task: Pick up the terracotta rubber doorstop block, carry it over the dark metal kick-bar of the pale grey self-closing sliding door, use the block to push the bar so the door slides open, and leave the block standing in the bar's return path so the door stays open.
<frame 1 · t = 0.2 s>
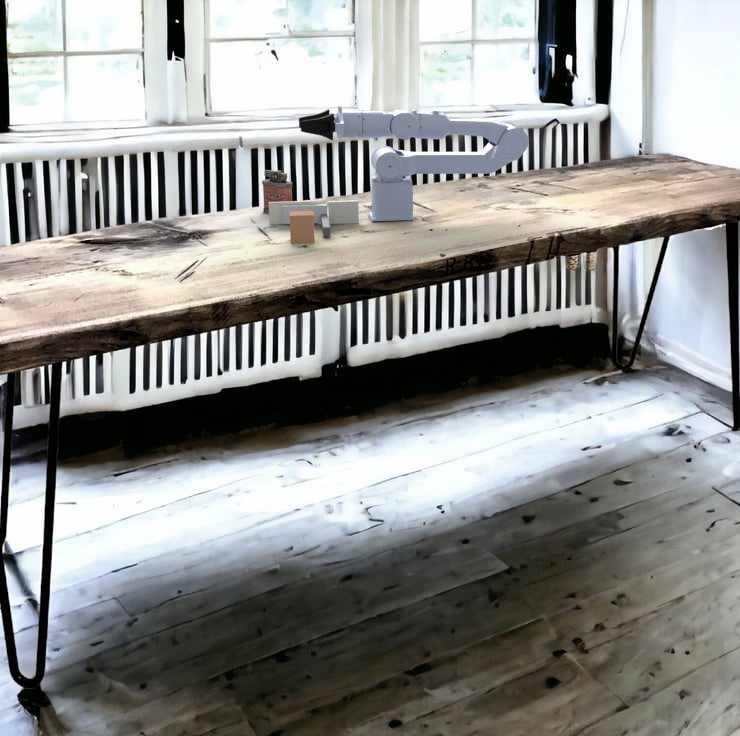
hand: (299, 124, 228), 22 cm above the table, tool horizontal, fingers open, 7 cm apart
white thin slab: (305, 224, 232), on the table
sliding door: (305, 220, 226), point 2 cm above the table, slide at 0.0 cm
lighter: (278, 214, 243), on the table
doorstop block: (302, 241, 219), on the table
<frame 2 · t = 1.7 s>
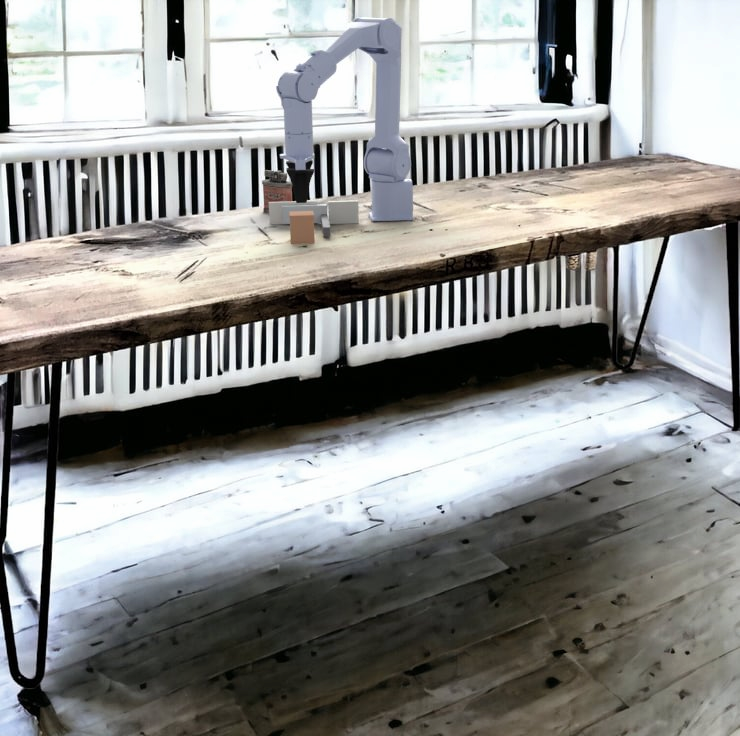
hand: (300, 198, 215), 9 cm above the table, tool pointing down, fingers open, 7 cm apart
nothing on the table moved.
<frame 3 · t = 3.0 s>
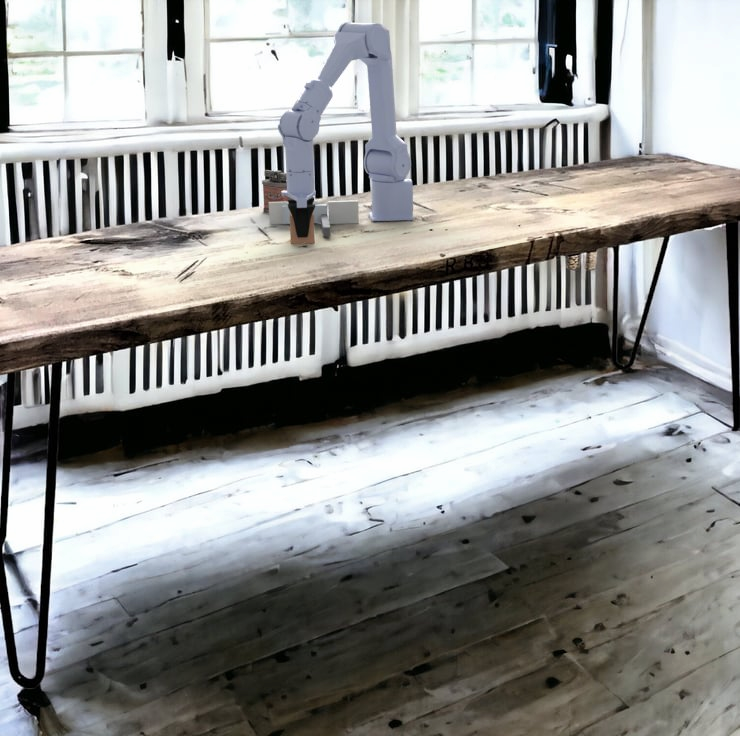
hand: (302, 234, 218), 1 cm above the table, tool pointing down, fingers closed on doorstop block, 4 cm apart
doorstop block: (302, 241, 218), on the table, touching gripper
everything else where it was.
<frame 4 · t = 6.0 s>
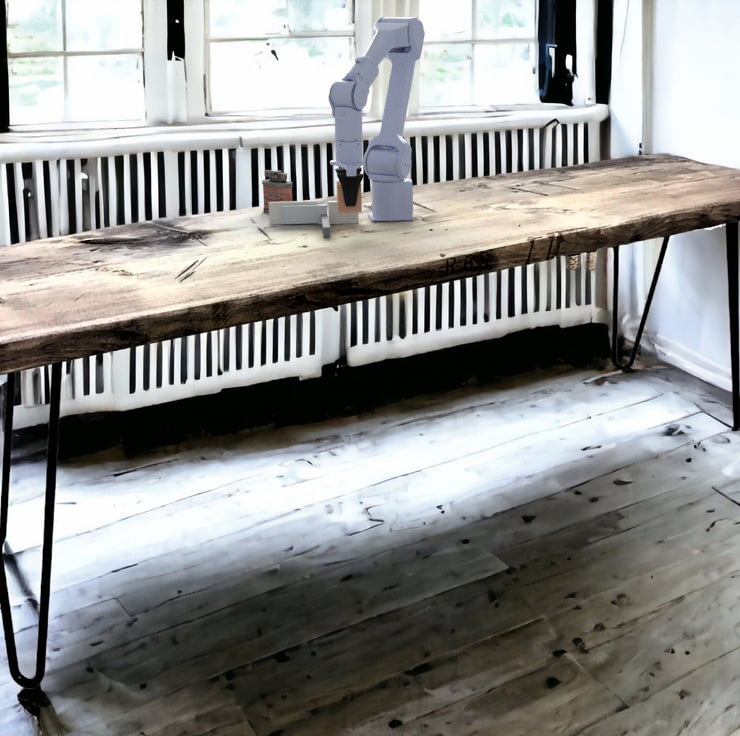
hand: (349, 203, 222), 7 cm above the table, tool pointing down, fingers closed on doorstop block, 4 cm apart
doorstop block: (349, 210, 222), point 5 cm above the table, touching gripper
everything else where it was.
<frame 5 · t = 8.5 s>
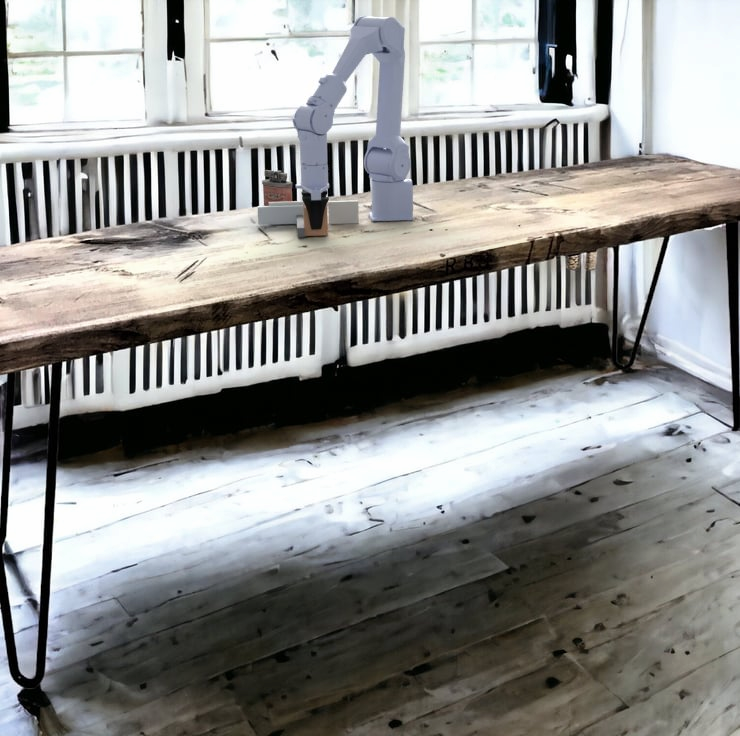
hand: (315, 226, 223), 2 cm above the table, tool pointing down, fingers closed on doorstop block, 4 cm apart
sliding door: (280, 221, 225), point 2 cm above the table, slide at 5.5 cm, touching doorstop block
doorstop block: (315, 233, 223), on the table, touching gripper, sliding door
everything else where it was.
when the fingers open (2 cm above the table, at t = 9.3 s): doorstop block stays where it is, resting on sliding door.
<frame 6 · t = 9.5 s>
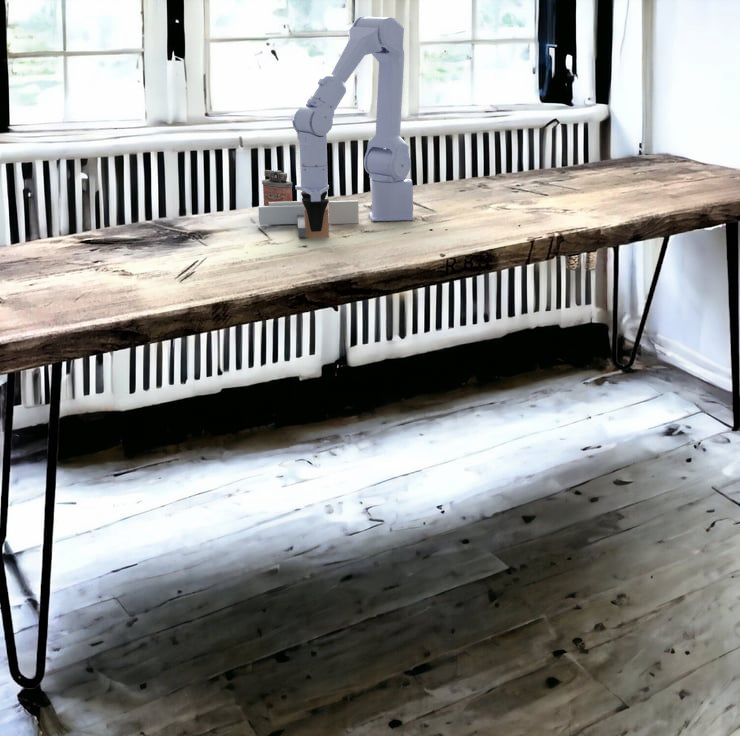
hand: (315, 227, 223), 2 cm above the table, tool pointing down, fingers open, 5 cm apart
doorstop block: (316, 235, 223), resting on sliding door
everything else where it was.
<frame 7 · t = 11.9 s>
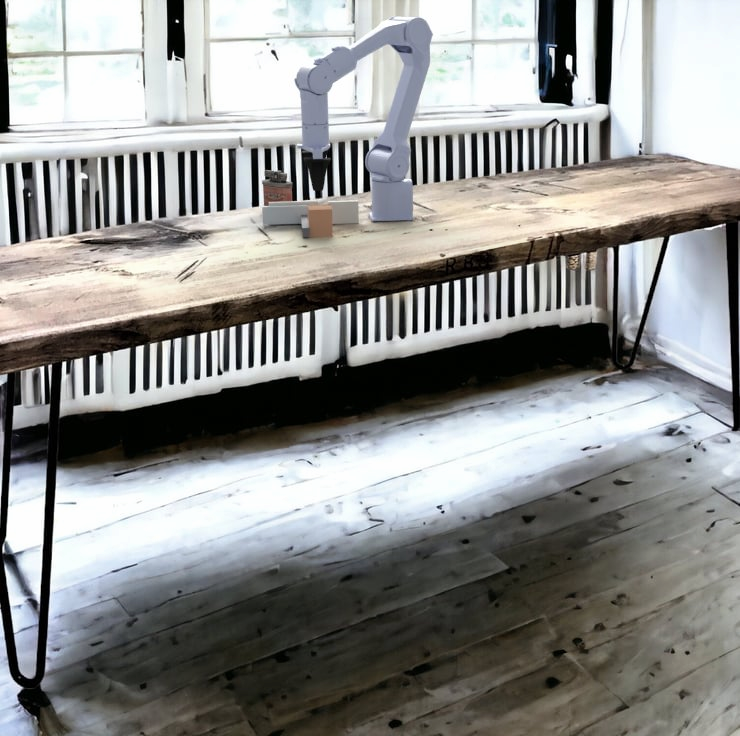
hand: (317, 186, 225), 9 cm above the table, tool pointing down, fingers open, 7 cm apart
sliding door: (285, 221, 225), point 2 cm above the table, slide at 4.4 cm, touching doorstop block
everything else where it was.
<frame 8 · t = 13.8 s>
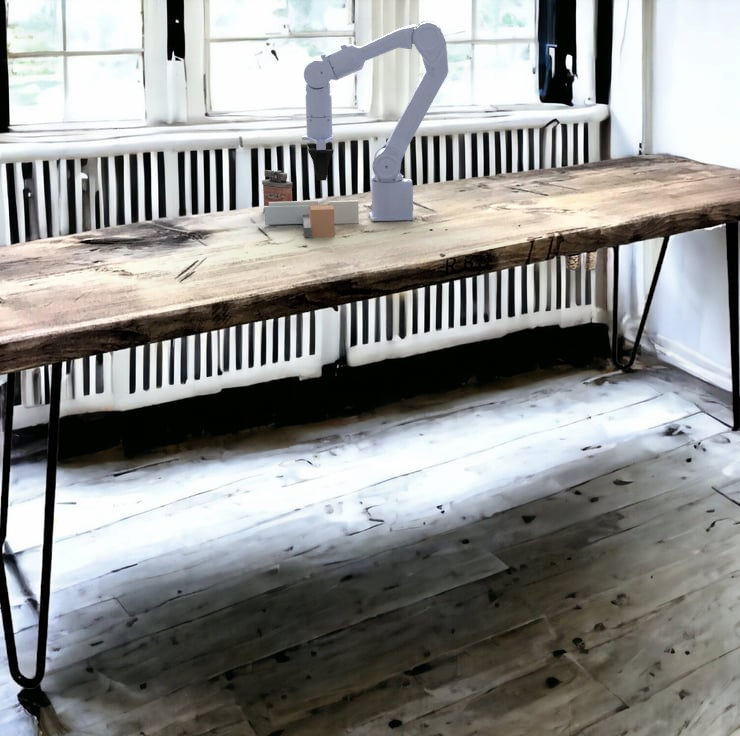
hand: (320, 177, 235), 9 cm above the table, tool pointing down, fingers open, 7 cm apart
sliding door: (287, 221, 226), point 2 cm above the table, slide at 4.0 cm
doorstop block: (322, 234, 223), on the table
everything else where it was.
at the end: sliding door slide at 4.0 cm; doorstop block touching sliding door, table; doorstop block tilted 0° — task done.
